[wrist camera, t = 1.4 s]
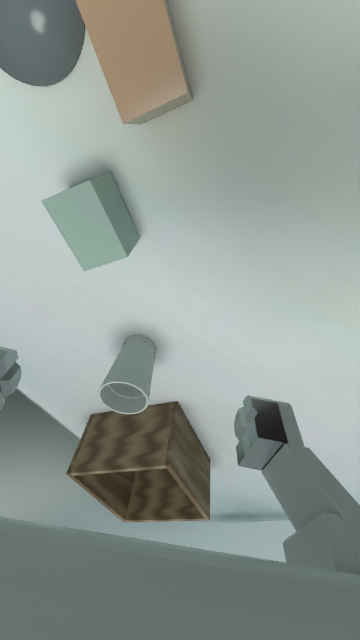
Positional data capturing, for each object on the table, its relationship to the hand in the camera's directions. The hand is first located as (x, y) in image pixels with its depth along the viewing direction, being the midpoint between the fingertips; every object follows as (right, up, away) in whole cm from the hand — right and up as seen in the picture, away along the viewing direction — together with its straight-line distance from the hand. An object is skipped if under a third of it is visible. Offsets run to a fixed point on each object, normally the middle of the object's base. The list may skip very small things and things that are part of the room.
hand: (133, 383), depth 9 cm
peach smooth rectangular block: (-1, +29, +18) cm, 34 cm away
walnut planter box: (-5, -29, +60) cm, 67 cm away
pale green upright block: (-9, +17, +28) cm, 34 cm away
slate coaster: (-14, +33, +16) cm, 39 cm away
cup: (-6, -3, +42) cm, 42 cm away
